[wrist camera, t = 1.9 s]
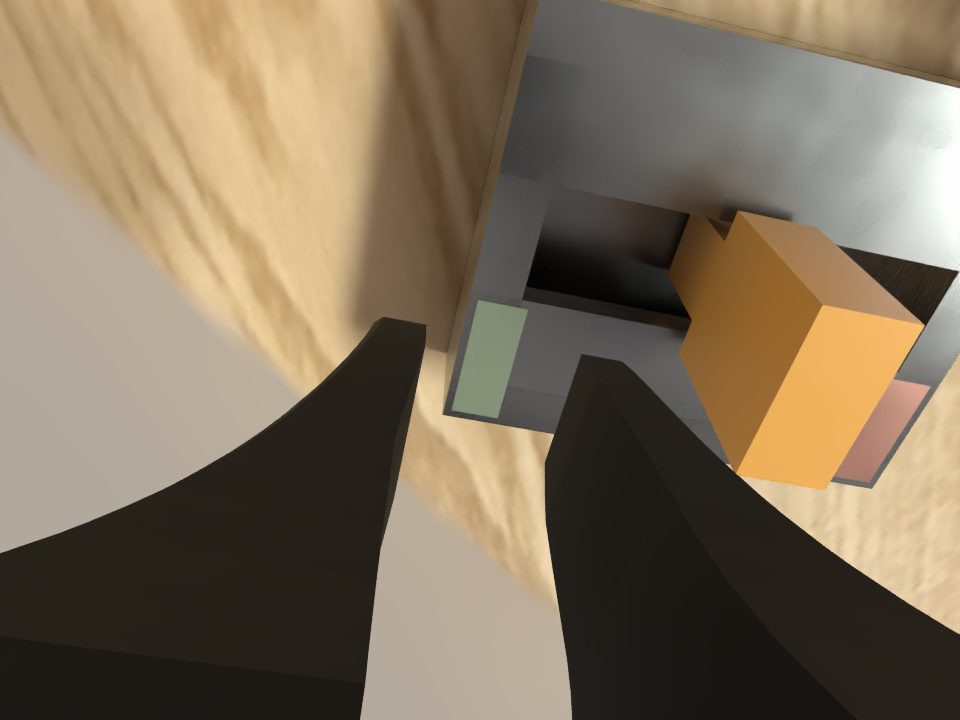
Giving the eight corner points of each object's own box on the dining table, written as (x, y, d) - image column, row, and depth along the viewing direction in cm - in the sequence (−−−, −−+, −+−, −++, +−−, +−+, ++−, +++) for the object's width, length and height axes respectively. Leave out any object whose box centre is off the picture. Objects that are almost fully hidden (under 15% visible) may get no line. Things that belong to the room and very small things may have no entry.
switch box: (826, 423, 23) (872, 489, 20) (446, 354, 21) (442, 415, 19) (1015, 95, 17) (1109, 125, 15) (531, -25, 16) (542, -14, 14)
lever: (716, 312, 20) (825, 489, 14) (653, 300, 20) (735, 474, 13) (771, 186, 18) (925, 325, 12) (702, 171, 18) (822, 304, 12)
